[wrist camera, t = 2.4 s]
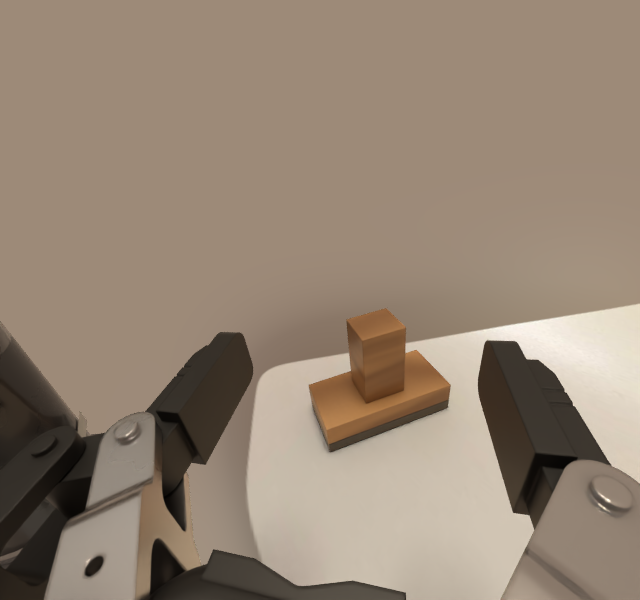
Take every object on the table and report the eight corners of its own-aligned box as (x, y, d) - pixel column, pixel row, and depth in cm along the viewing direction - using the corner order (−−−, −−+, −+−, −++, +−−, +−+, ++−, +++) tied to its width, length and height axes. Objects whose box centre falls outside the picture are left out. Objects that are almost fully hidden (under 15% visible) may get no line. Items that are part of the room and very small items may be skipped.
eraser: (447, 407, 27) (459, 320, 22) (330, 452, 24) (315, 365, 20) (415, 370, 31) (419, 291, 26) (312, 406, 29) (296, 325, 24)
